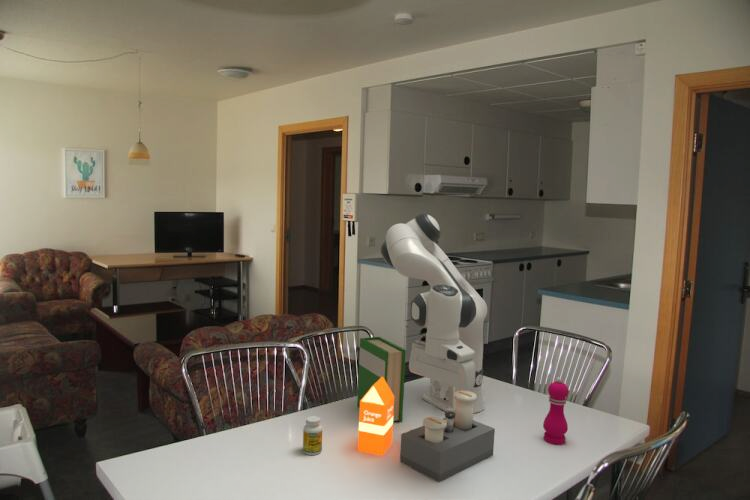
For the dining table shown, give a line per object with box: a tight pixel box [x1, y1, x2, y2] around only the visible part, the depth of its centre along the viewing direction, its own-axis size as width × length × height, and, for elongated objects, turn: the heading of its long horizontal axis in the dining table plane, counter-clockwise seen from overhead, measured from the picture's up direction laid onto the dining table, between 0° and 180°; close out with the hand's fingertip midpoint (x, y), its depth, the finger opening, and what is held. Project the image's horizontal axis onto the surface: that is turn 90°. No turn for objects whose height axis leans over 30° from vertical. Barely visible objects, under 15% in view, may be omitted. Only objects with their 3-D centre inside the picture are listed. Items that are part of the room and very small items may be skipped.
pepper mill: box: [542, 376, 570, 445], centre depth 174 cm, size 7×7×20 cm
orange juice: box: [357, 376, 394, 456], centre depth 163 cm, size 8×9×20 cm
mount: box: [399, 416, 496, 483], centre depth 159 cm, size 14×24×8 cm, turn 134°
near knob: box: [422, 416, 447, 444], centre depth 154 cm, size 6×6×10 cm
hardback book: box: [356, 336, 407, 424], centre depth 188 cm, size 18×7×24 cm, turn 29°
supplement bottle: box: [302, 415, 323, 456], centre depth 159 cm, size 5×5×10 cm
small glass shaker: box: [444, 411, 456, 433], centre depth 158 cm, size 3×3×5 cm
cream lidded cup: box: [454, 391, 477, 432], centre depth 162 cm, size 6×6×10 cm
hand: (439, 396), depth 152 cm, fingers closed
